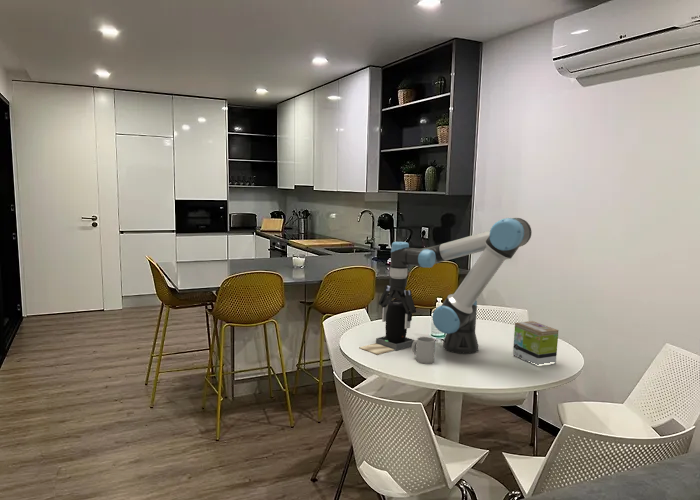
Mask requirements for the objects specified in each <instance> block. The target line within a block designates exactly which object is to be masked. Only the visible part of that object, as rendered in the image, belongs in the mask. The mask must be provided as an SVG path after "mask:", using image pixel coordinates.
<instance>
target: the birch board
mask: <svg viewBox="0 0 700 500" xmlns="http://www.w3.org/2000/svg"><path fill="white" fill-rule="evenodd" d="M358 348H359V349H360V350H363V351H366V352H369V353H371V354H374V355H376V356H378V355H383V354H386V353H389V352H390V353H391V352H393V351H395V350H394V349H391V348H389V347H386V346H383V345H380V344H377V343H376V342H375V343H371V344H368V345H363V346H359V347H358Z"/></svg>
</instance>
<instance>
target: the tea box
mask: <svg viewBox="0 0 700 500" xmlns="http://www.w3.org/2000/svg"><path fill="white" fill-rule="evenodd" d="M513 332H514V333H513V347H512V349H513V350H512V356H513V355H515V356H514V357H516V356H518V357H520V358H522V359H521V360H523V359H525V360H527V361H530V362H532V363H535V364H537V365H539V364H544V363H550V362H556V363H557V355H558V341H559V329H557V328H553V327H550V326H548V325H545V324H542V323H539V322H537V321H534V320H530V321H529V320H528V321H520V322H515V323H514V331H513ZM518 357H517V358H518ZM520 358H519V359H520ZM525 360H524V361H525ZM527 361H526V362H527Z"/></svg>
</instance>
